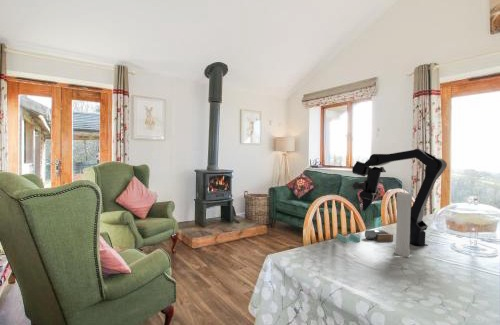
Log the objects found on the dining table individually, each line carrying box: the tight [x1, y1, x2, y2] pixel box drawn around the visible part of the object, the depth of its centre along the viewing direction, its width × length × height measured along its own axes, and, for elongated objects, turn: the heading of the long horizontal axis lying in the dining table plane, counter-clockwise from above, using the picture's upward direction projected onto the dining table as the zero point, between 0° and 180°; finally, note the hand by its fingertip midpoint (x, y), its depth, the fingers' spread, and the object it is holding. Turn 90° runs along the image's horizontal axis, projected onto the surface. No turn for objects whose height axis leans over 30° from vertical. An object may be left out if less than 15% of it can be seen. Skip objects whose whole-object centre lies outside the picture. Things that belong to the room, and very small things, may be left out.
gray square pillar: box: [394, 178, 413, 258], centre depth 113 cm, size 6×6×30 cm
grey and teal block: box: [364, 229, 386, 240], centre depth 132 cm, size 8×4×4 cm, turn 100°
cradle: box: [336, 232, 361, 243], centre depth 130 cm, size 7×8×2 cm
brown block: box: [373, 230, 394, 243], centre depth 132 cm, size 7×7×4 cm
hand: (365, 208), depth 144 cm, fingers open, 9 cm apart
